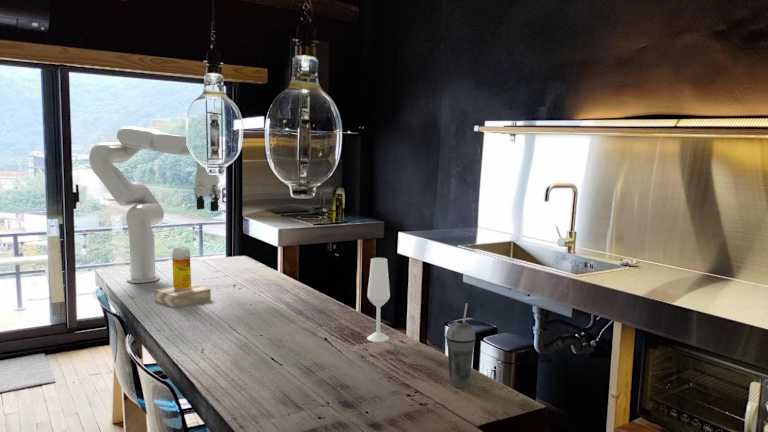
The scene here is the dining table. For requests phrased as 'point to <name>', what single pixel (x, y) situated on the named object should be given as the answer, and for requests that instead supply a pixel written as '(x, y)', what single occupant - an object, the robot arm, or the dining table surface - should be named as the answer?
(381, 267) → the champagne flute
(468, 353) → the beverage cup
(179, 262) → the beer can
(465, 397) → the dining table surface
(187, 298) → the birch plinth
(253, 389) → the dining table surface
